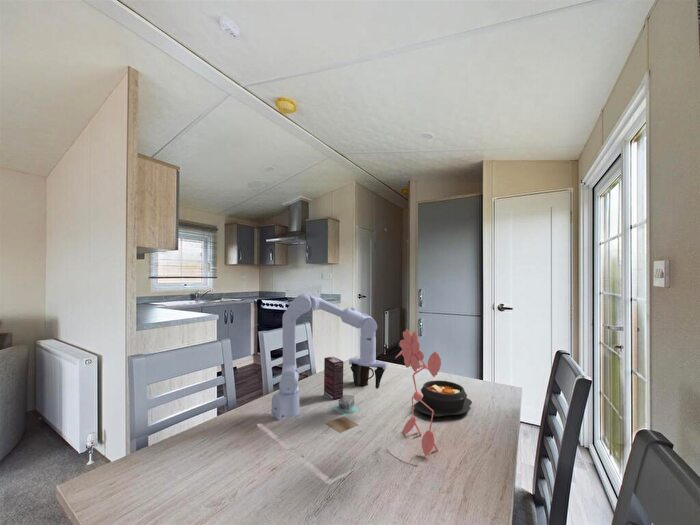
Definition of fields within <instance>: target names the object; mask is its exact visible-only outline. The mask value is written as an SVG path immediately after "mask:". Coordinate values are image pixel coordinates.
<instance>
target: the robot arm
mask: <svg viewBox="0 0 700 525" xmlns="http://www.w3.org/2000/svg"><path fill="white" fill-rule="evenodd" d="M311 309H312V311H317V310H322V311H325V312H326V313H329V314H332V315H334V316H337V317H339V318H340V319H341V321H342V323H343V324H347V325H349V326H351V327H354V328H355V329H361V330H360V340H359V341H360V343H359V344H360V348H359V351H360V352H359V356H360V357H359V358H358V357H357V358H355V357H351V358H349V359H348V365H350V371H351V372H352V375H353V374H354V377H355V381H356V385H359V384H360V372H361V366H368V367H370V368H375V369H374V375H375V376H374V377H375V378H374V379H375V390H377V389H379V388H380V384H381V381H382V378H383V375H384V373H385V371H386V370H387V369H388V362H384V361H379V360H377V359H376V358H377V355H376V353H377V352H376V349H377V348H376V347H377V346H376V345H377V338H376V333H377V332H376V331H377V330H378V326H379V325H378V324H377V321H376V320H375V319H374V318H373V317H372V316H370V315H369V314H367V313H366V312H364V313H363V312H360V311H359V310H356V308H355V307H353V306H352V307H346V308H342V307H340V306H339V305H336V304H334V303H331V302H330V301H327V300H325V299H323V298H321V297H318V296H315V295H310V294H309V293H306V292H305V293H301V294H299V295H297V296H296V297H295V298H294V299H293V300H292V301H291V302H290V304H289V305H288V307H287V308H286V309H285V311H284V312H283V314H282V369H281V370H282V371H281V379H280V380H279V383H278V386H279V390H278V392H276V393H275V394H273V395H272V397H271V414H270V417H271V418H273V417H274V418H275V419H277V420H278V421H282V420H284V419H285V420H286V419H288V418H294V417H296V416H298V415H299V414H300V387H299V386H298V382H299V381H300V380H299V379H300V373H299V372H298V369H297V347H296V345H297V342H296V339H297V338H296V336H297V333H296V332H297V330H296V329H297V328H296V322H297V319H298V318H300V317H301V316H302V315H304V314H307V313H308V312H310V310H311Z"/></svg>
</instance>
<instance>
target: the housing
mask: <svg viewBox="0 0 700 525" xmlns="http://www.w3.org/2000/svg"><path fill="white" fill-rule="evenodd" d="M338 406H339V412H345V413H349V412H350V411H351V410H352V409H353V407H354V406H355V395H352V394H351V395H350V394H344V393H343V396H342V397H341V398H340V399H338ZM339 412H338V413H339Z"/></svg>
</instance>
